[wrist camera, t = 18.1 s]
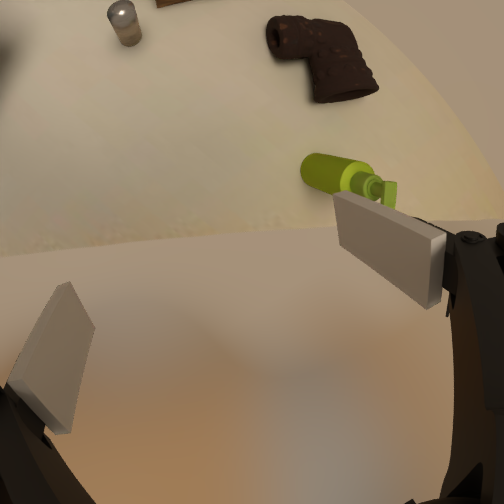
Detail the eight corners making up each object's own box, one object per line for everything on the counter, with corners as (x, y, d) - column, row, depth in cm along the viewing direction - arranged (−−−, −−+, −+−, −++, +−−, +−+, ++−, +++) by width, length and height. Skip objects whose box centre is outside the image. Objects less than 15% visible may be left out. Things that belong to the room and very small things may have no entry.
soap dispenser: (299, 192, 51) (367, 228, 33) (301, 152, 48) (373, 167, 30) (329, 192, 52) (404, 226, 34) (332, 154, 50) (411, 170, 32)
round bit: (115, 40, 34) (101, 15, 24) (130, 24, 34) (120, -5, 24) (132, 50, 36) (121, 26, 26) (146, 33, 35) (140, 6, 25)
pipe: (277, 2, 32) (309, 93, 35) (360, 7, 35) (391, 87, 38) (257, 32, 41) (283, 110, 45) (332, 29, 44) (357, 100, 48)
